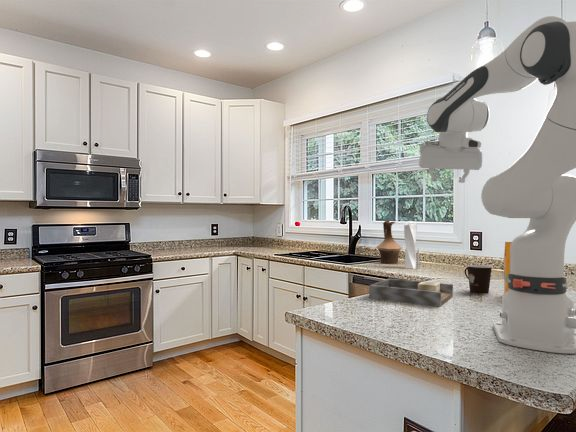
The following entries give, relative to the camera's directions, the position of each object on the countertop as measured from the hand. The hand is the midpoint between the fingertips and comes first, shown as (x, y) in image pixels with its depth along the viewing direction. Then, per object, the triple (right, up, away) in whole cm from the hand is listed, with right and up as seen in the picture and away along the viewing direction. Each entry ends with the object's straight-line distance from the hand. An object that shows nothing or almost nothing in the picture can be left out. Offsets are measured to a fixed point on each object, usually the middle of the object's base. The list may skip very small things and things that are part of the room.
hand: (447, 182), depth 134 cm
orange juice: (+27, -41, +3) cm, 49 cm away
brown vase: (+11, -43, +116) cm, 124 cm away
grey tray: (-11, -41, +3) cm, 43 cm away
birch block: (-7, -40, 0) cm, 40 cm away
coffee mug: (+19, -42, +16) cm, 48 cm away
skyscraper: (+16, -43, +89) cm, 100 cm away
